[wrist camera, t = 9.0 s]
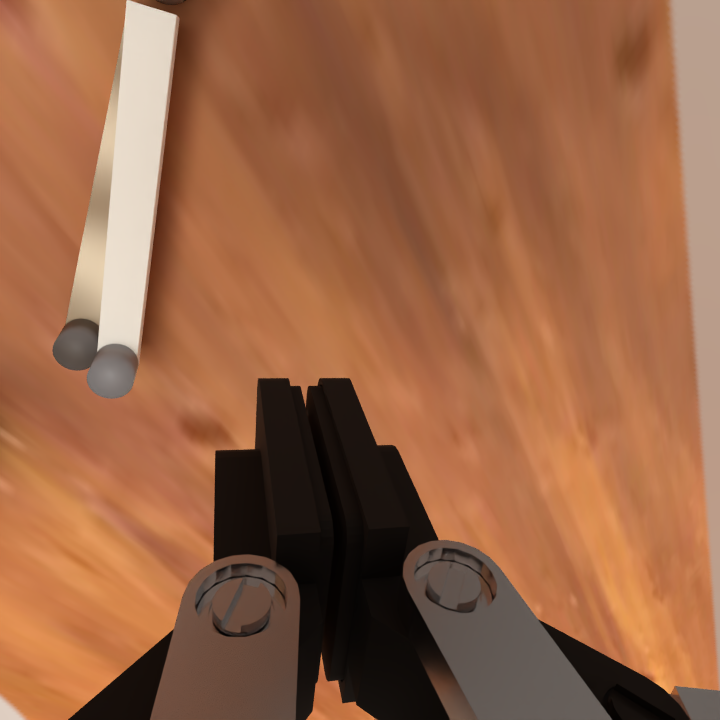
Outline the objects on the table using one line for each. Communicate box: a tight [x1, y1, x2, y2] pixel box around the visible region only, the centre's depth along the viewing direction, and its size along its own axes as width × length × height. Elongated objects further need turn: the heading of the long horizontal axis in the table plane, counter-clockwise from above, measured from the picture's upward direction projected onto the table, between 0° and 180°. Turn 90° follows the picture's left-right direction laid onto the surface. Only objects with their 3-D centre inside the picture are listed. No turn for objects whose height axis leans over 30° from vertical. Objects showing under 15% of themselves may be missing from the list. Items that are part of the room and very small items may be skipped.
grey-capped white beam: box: [53, 0, 186, 370], centre depth 28 cm, size 22×3×6 cm, turn 159°
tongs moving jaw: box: [87, 0, 180, 398], centre depth 28 cm, size 18×2×4 cm, turn 165°
